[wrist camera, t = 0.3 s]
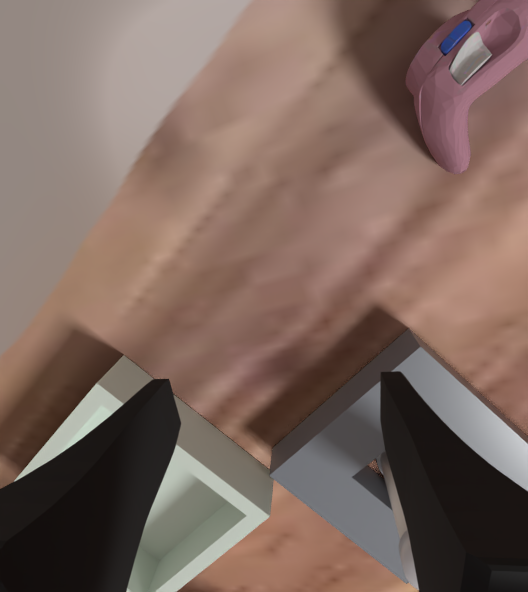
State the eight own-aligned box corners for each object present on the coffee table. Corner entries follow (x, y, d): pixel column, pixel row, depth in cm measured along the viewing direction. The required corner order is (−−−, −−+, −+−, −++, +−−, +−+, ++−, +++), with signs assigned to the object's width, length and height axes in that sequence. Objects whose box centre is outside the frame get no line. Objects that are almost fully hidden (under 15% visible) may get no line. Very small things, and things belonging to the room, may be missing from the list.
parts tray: (164, 566, 31) (147, 614, 28) (27, 469, 29) (-9, 507, 26) (274, 473, 27) (269, 516, 24) (123, 354, 25) (96, 383, 22)
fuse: (401, 481, 26) (440, 607, 19) (362, 448, 26) (386, 565, 18) (443, 449, 25) (503, 570, 18) (404, 415, 25) (448, 524, 17)
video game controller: (575, -19, 19) (659, -203, 12) (649, 44, 17) (788, -123, 11) (394, 125, 21) (382, 37, 15) (447, 189, 20) (461, 123, 13)
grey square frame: (398, 548, 28) (406, 583, 26) (272, 448, 26) (269, 475, 24) (543, 451, 24) (569, 481, 22) (408, 328, 23) (420, 346, 21)
